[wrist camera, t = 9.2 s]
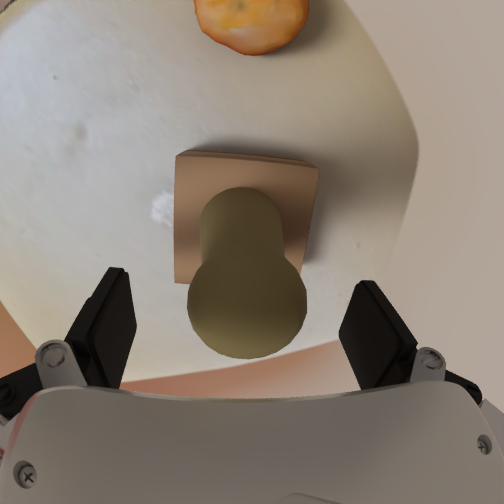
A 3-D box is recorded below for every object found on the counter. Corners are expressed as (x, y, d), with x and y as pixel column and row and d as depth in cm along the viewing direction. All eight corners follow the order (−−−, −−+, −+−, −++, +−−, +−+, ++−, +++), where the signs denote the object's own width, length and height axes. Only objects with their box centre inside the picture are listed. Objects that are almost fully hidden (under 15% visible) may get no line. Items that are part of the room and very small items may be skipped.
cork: (294, 202, 20) (352, 284, 10) (265, 272, 22) (289, 385, 12) (212, 176, 19) (190, 239, 9) (190, 252, 21) (162, 362, 11)
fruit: (335, 5, 15) (333, -1, 10) (275, 61, 21) (250, 80, 16) (260, -46, 13) (225, -66, 8) (207, 13, 18) (159, 19, 13)
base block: (185, 150, 22) (175, 156, 18) (305, 161, 23) (319, 169, 19) (181, 260, 26) (174, 282, 22) (288, 267, 27) (296, 290, 23)
